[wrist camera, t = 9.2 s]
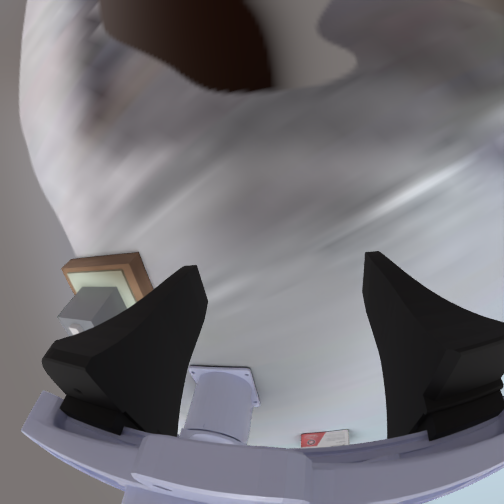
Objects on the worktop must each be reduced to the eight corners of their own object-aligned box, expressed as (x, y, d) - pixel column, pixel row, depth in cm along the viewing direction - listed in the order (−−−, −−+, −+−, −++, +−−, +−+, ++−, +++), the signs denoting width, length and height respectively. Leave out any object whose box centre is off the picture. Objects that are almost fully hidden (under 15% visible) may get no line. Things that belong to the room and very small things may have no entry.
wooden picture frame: (179, 346, 31) (173, 361, 29) (115, 341, 33) (108, 353, 31) (138, 252, 25) (127, 265, 23) (71, 259, 27) (59, 270, 25)
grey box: (116, 286, 24) (87, 325, 20) (145, 343, 28) (126, 382, 23) (82, 286, 25) (53, 320, 20) (112, 340, 29) (92, 374, 24)
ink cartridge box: (303, 441, 43) (299, 508, 31) (301, 433, 41) (296, 506, 28) (348, 437, 41) (349, 505, 29) (349, 428, 39) (351, 502, 26)
